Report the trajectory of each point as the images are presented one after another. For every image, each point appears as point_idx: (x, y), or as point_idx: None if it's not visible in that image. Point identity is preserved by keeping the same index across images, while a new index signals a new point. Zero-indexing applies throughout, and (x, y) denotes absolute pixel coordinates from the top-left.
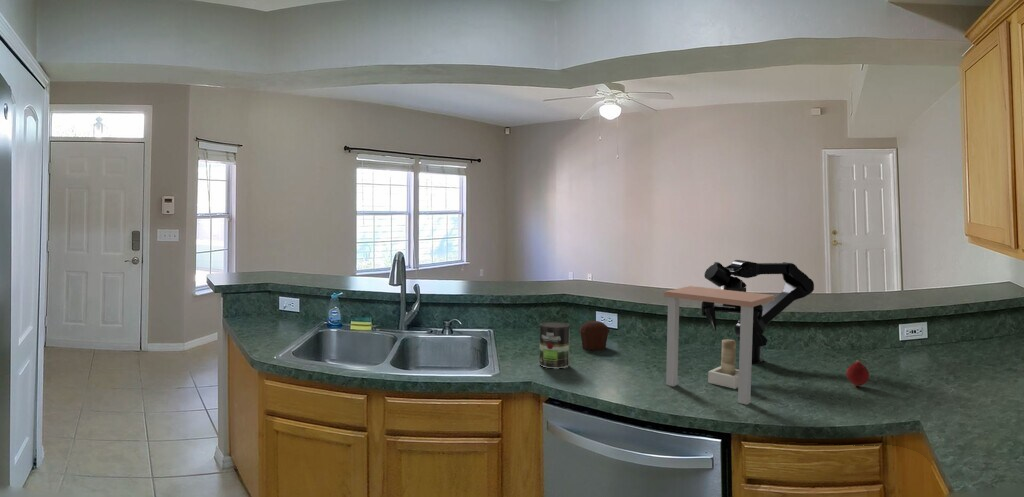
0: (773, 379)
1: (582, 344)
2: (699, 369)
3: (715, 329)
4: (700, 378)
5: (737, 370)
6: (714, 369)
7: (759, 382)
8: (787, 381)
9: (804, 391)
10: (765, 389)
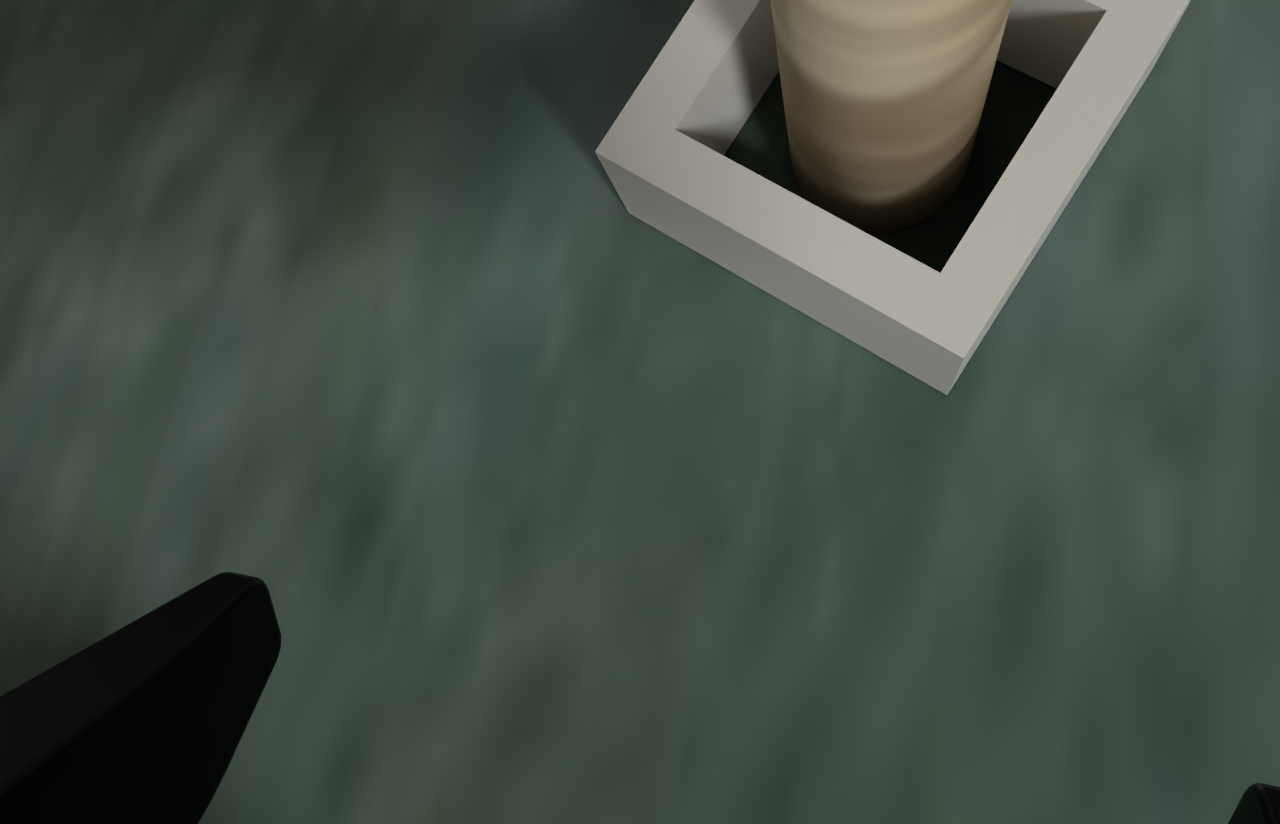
0: (272, 446)
1: None
2: (1260, 754)
3: (1272, 791)
4: (1255, 249)
5: (729, 167)
6: (1090, 121)
7: (472, 271)
8: (138, 399)
9: (90, 68)
10: (470, 14)
